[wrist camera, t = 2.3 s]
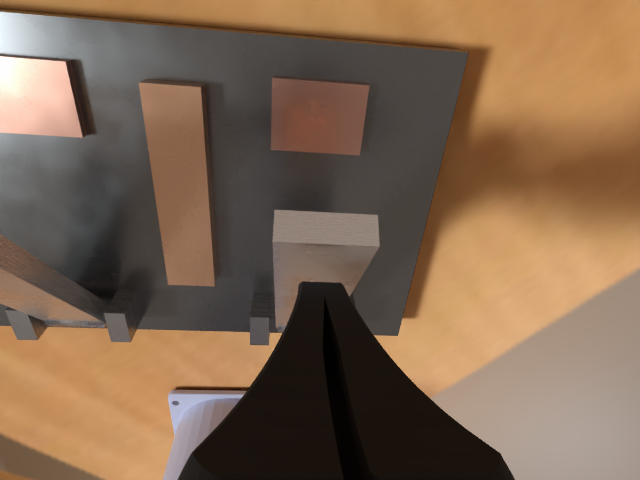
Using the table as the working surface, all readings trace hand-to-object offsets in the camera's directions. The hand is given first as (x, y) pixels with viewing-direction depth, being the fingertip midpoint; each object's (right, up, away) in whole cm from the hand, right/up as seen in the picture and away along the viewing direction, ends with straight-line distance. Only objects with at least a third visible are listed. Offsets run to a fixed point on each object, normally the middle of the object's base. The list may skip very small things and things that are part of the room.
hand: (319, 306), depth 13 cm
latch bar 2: (0, +1, +5) cm, 5 cm away
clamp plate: (-7, +4, +8) cm, 11 cm away
